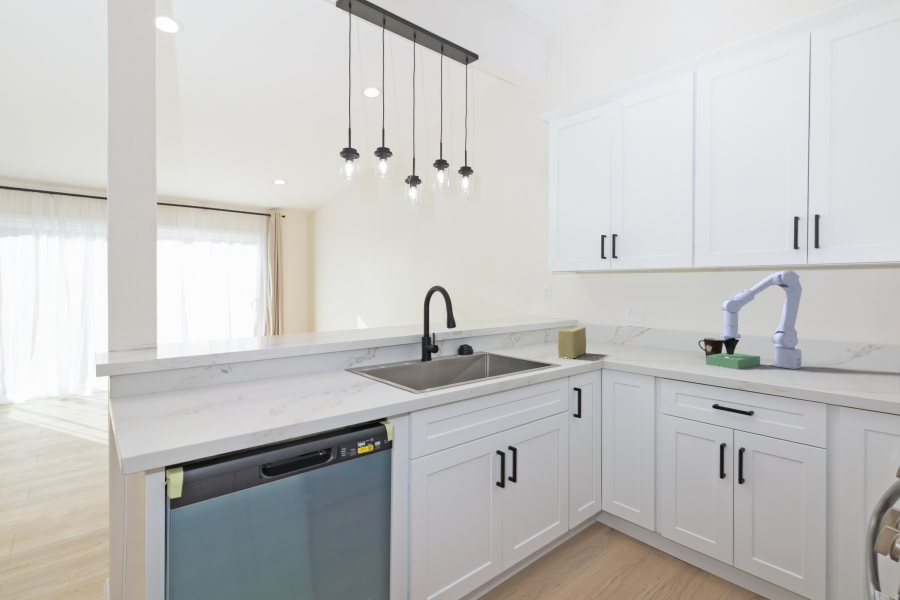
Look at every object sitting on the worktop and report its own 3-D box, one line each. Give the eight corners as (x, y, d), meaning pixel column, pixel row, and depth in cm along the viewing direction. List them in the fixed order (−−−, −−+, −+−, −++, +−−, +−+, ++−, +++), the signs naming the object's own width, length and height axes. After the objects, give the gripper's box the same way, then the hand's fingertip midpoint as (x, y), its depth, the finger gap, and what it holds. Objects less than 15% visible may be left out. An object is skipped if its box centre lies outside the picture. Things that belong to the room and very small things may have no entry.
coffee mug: (727, 359, 213) (727, 340, 212) (709, 359, 213) (710, 340, 212) (713, 356, 224) (713, 337, 224) (696, 356, 224) (697, 337, 224)
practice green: (728, 360, 212) (728, 352, 211) (759, 364, 199) (760, 356, 199) (705, 364, 201) (706, 355, 201) (737, 369, 189) (738, 360, 189)
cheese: (576, 352, 239) (576, 326, 239) (593, 354, 233) (593, 327, 232) (557, 357, 223) (557, 329, 222) (574, 359, 216) (574, 330, 216)
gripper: (729, 324, 206) (729, 351, 206) (713, 325, 198) (712, 354, 199) (745, 325, 200) (745, 353, 200) (729, 327, 192) (728, 356, 193)
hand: (730, 354), depth 199 cm, fingers closed
